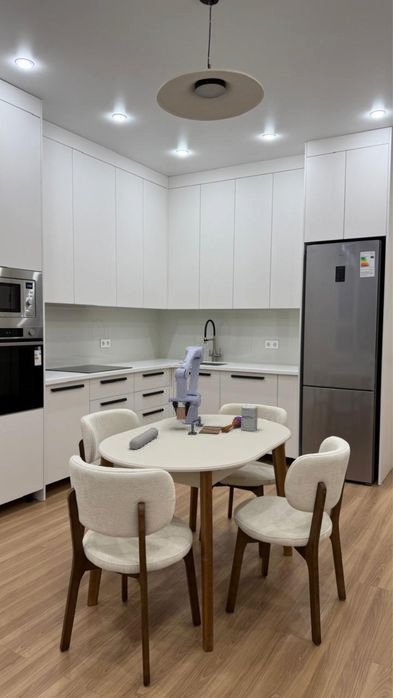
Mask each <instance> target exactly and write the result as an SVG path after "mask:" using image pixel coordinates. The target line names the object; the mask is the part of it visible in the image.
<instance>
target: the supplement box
mask: <svg viewBox="0 0 393 698" xmlns="http://www.w3.org/2000/svg"><path fill="white" fill-rule="evenodd" d="M258 413H259V406H257V405H248V404H247V405H243V406H241V416H240V417H241V427H240V430H241V431H246V432H255V431H256V430H258V419H259V418H258V417H259V416H258V415H259V414H258Z"/></svg>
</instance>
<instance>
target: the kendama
mask: <svg viewBox="0 0 393 698" xmlns="http://www.w3.org/2000/svg"><path fill="white" fill-rule="evenodd" d="M232 419H233V420H232V422H231V424H228V425H226V426H225V425H224V426H222V428H221V430H220V432H221V433H223V434H226V433H227V432H229V430H230V429H231V428H233V427H234V428H241V416H238V415H237V416H235V417H234V418H232Z"/></svg>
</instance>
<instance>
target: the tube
mask: <svg viewBox="0 0 393 698" xmlns="http://www.w3.org/2000/svg"><path fill="white" fill-rule="evenodd" d="M158 436H159V430H158V429H157V427H152V426H151V427H150V428H149V429H147V430H145V431H144V432H142V433H140V434H139V435H137V436H135V437H133V438H132V439H131V440H130V441H129V444H128V445H129V448H130V449H131V450H139V448H141V447H143V446H144V445H146V444H147V443H149V442H151V441H152V440H154V439H156V438H157V437H158Z"/></svg>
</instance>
